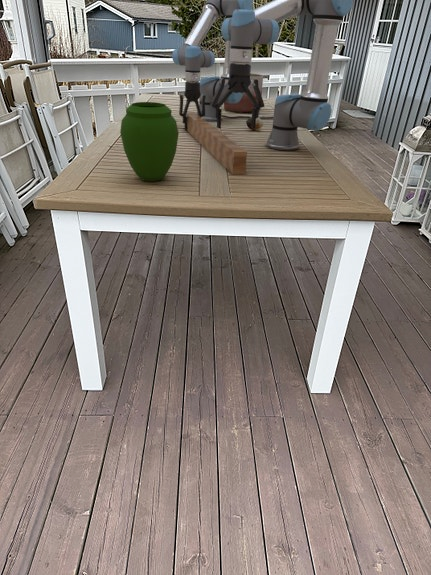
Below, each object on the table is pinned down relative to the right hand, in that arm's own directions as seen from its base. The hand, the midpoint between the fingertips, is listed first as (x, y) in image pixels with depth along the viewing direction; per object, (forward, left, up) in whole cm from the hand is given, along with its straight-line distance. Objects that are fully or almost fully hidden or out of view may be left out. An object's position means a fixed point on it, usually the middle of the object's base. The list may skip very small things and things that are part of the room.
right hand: (236, 127), depth 153 cm
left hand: (-47, -52, -15) cm, 72 cm away
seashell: (-73, -28, -16) cm, 80 cm away
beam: (-23, -26, -16) cm, 38 cm away
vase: (+30, -17, -16) cm, 38 cm away
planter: (-127, -65, -16) cm, 144 cm away
